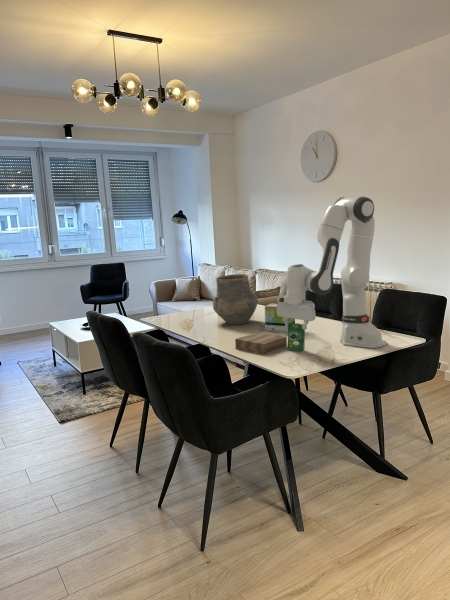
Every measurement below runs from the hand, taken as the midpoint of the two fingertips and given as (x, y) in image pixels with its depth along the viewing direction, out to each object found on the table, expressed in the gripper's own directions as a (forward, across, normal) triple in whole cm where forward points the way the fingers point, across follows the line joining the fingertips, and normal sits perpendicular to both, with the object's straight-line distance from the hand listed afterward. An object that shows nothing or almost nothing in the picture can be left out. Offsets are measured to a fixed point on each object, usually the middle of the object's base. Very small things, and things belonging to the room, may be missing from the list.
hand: (295, 327), depth 216 cm
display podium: (+11, +17, +5) cm, 21 cm away
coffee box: (+11, 0, 0) cm, 11 cm away
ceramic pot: (+12, +69, -32) cm, 77 cm away
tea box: (+11, +33, -31) cm, 46 cm away
